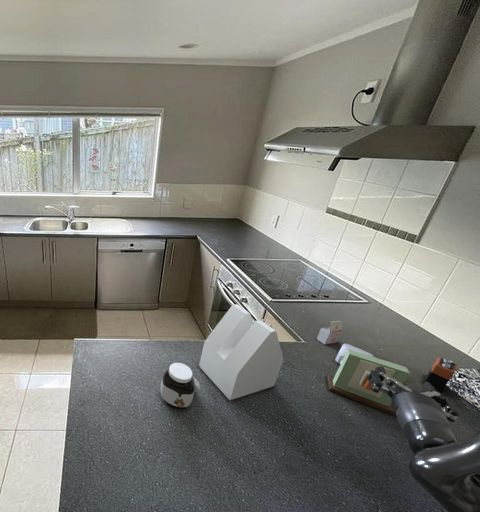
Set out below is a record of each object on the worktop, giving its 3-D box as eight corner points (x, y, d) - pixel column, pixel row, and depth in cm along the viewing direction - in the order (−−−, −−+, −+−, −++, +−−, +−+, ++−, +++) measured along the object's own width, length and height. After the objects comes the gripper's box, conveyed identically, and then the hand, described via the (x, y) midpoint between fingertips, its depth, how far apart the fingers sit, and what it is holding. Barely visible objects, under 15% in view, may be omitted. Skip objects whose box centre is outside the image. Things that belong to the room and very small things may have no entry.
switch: (374, 388, 87) (379, 380, 86) (376, 392, 86) (381, 383, 85) (363, 384, 89) (368, 376, 87) (365, 388, 87) (369, 379, 86)
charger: (330, 368, 105) (339, 351, 114) (362, 384, 98) (369, 364, 107) (334, 358, 103) (344, 342, 112) (367, 373, 96) (375, 355, 105)
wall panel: (387, 399, 93) (408, 363, 87) (393, 416, 87) (416, 379, 81) (327, 377, 101) (343, 343, 95) (329, 391, 95) (346, 356, 89)
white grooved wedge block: (239, 355, 109) (255, 300, 100) (273, 386, 96) (296, 325, 86) (198, 366, 103) (212, 308, 94) (229, 400, 90) (248, 337, 80)
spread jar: (157, 402, 88) (162, 374, 83) (163, 377, 98) (167, 350, 93) (197, 416, 84) (204, 387, 80) (199, 388, 94) (205, 361, 89)
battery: (443, 384, 100) (459, 362, 96) (440, 392, 96) (456, 370, 92) (426, 376, 103) (440, 354, 99) (422, 383, 99) (436, 362, 96)
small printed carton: (316, 338, 121) (324, 319, 117) (328, 337, 122) (337, 318, 118) (324, 344, 117) (333, 324, 114) (337, 342, 119) (346, 323, 115)
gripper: (482, 426, 55) (449, 378, 67) (384, 389, 62) (371, 352, 75) (462, 452, 57) (434, 402, 70) (370, 414, 65) (360, 374, 78)
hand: (401, 376), depth 72 cm, fingers open, 8 cm apart
